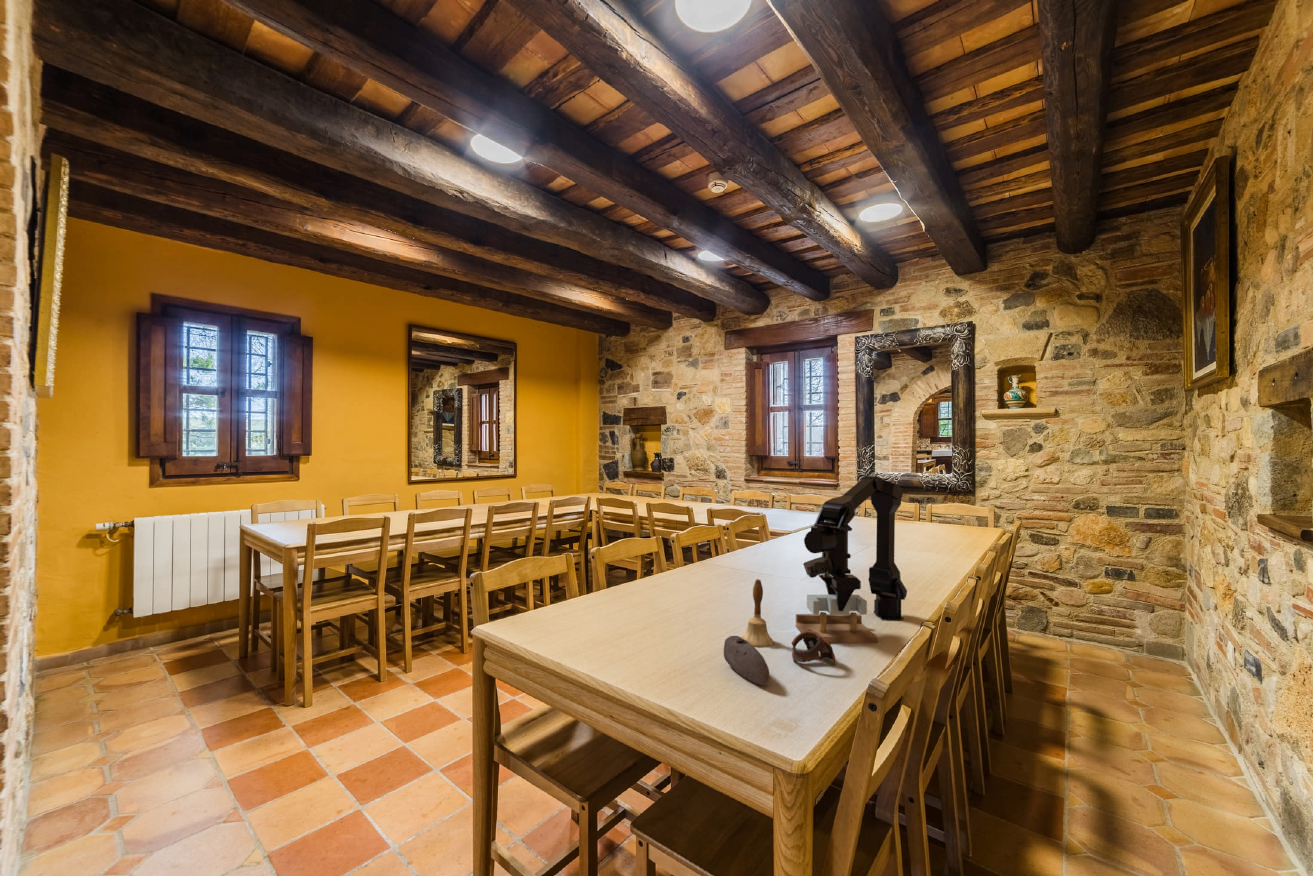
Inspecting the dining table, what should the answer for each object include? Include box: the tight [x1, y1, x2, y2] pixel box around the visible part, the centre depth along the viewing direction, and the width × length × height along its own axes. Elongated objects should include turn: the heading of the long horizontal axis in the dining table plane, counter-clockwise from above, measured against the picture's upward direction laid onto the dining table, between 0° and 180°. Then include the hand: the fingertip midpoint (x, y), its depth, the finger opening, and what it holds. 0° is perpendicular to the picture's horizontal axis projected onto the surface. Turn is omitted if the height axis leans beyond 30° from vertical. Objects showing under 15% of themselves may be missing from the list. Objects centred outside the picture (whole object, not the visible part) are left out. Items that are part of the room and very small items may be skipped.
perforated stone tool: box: [723, 635, 771, 686], centre depth 118 cm, size 15×5×7 cm, turn 21°
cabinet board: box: [795, 611, 879, 644], centre depth 144 cm, size 18×12×6 cm, turn 90°
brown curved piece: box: [791, 629, 837, 667], centre depth 126 cm, size 12×10×8 cm
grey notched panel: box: [806, 594, 868, 616], centre depth 143 cm, size 14×6×4 cm, turn 90°
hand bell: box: [740, 579, 774, 648], centre depth 139 cm, size 8×8×16 cm
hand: (836, 607), depth 143 cm, fingers closed on grey notched panel, 6 cm apart
